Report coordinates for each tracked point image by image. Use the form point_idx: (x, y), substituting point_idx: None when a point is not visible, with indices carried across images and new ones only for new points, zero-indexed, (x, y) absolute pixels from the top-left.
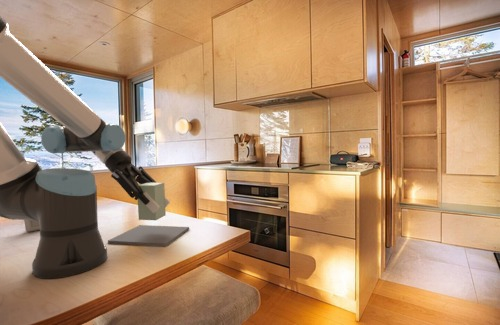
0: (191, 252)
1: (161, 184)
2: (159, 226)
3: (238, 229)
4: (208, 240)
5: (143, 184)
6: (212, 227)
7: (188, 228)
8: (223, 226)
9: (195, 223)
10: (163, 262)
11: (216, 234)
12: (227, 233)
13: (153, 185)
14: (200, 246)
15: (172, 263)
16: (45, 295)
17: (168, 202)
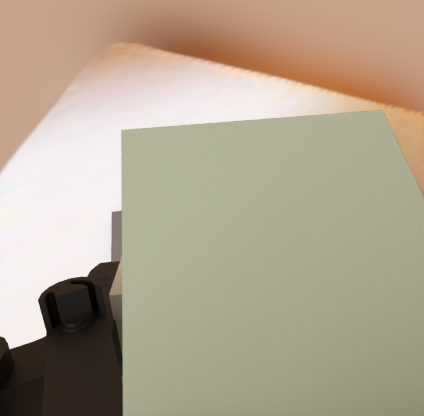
0: (326, 106)
1: (203, 133)
2: (122, 376)
3: (94, 62)
4: (222, 102)
5: (382, 347)
6: (77, 142)
7: (121, 213)
8: (60, 112)
9: (15, 235)
10: (416, 137)
11: (159, 102)
12: (142, 77)
13: (384, 122)
14: (276, 103)
15: (407, 115)
16: None
17: None
